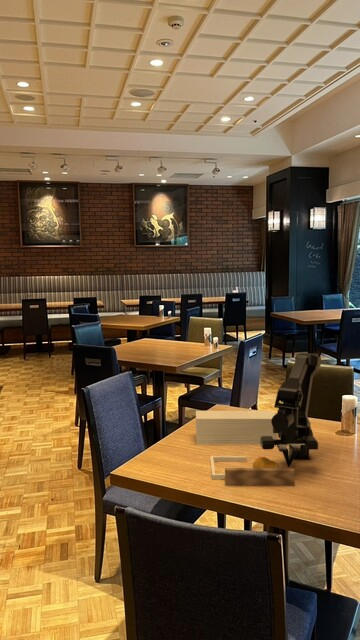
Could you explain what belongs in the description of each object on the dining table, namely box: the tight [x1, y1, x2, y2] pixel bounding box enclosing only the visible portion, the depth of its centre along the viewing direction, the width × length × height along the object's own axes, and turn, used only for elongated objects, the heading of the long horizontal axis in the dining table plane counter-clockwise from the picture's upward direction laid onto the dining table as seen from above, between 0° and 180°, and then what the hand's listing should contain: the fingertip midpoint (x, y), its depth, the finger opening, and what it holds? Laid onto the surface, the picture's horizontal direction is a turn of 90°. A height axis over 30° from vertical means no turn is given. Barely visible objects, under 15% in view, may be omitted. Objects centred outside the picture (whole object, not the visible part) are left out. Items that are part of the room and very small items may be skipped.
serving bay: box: [209, 455, 248, 480], centre depth 166 cm, size 13×16×2 cm
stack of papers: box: [195, 410, 279, 446], centre depth 194 cm, size 32×11×11 cm, turn 89°
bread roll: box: [252, 456, 280, 468], centre depth 165 cm, size 8×9×4 cm
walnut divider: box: [224, 467, 296, 487], centre depth 154 cm, size 22×2×5 cm, turn 89°
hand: (288, 466), depth 165 cm, fingers closed
